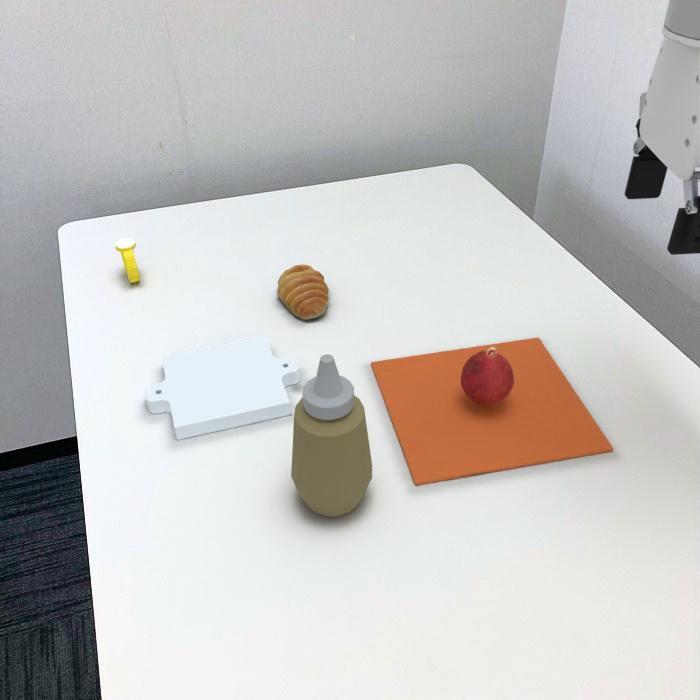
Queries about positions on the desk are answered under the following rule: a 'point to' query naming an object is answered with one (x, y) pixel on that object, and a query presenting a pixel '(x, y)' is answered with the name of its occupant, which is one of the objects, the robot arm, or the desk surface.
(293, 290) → the pastry
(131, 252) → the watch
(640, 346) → the desk surface
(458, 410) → the cloth
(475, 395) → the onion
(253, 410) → the mounting plate
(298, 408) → the squeeze bottle
